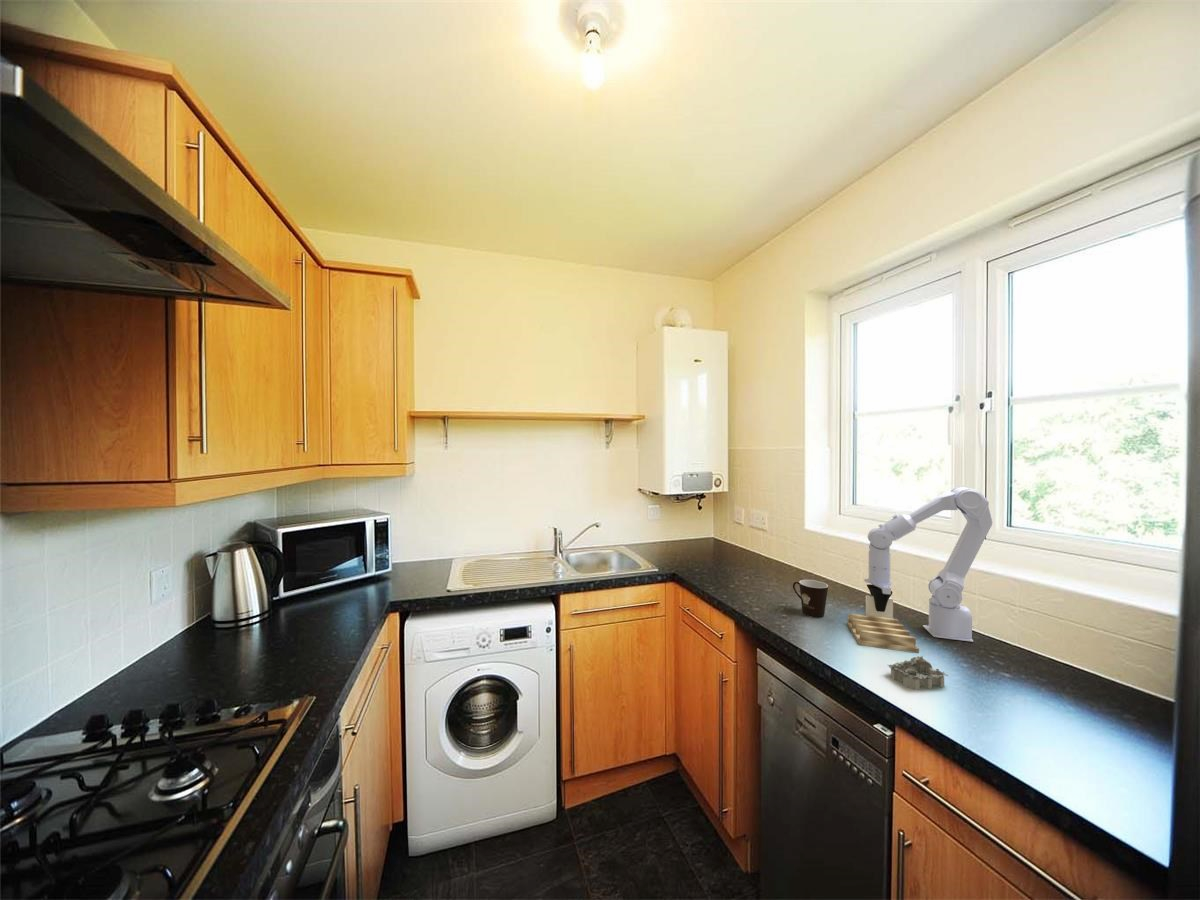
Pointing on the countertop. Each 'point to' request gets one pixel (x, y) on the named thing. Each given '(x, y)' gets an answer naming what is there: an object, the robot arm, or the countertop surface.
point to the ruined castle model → (909, 673)
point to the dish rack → (881, 633)
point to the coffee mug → (812, 597)
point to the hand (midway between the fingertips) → (879, 609)
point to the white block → (872, 611)
